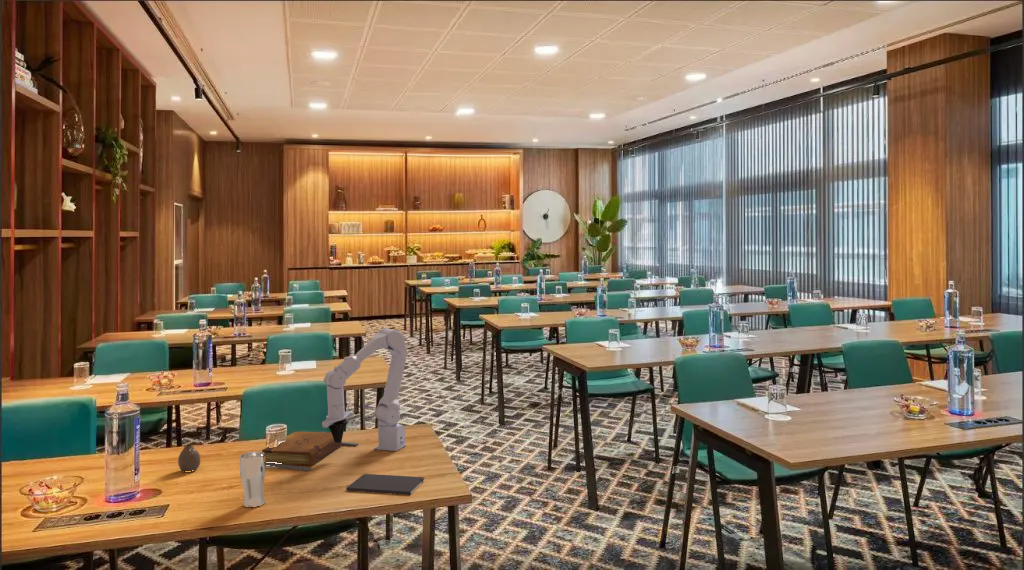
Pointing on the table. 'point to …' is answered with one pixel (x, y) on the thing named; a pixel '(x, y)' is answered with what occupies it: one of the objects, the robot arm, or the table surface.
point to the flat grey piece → (301, 466)
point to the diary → (302, 449)
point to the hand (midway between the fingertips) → (338, 442)
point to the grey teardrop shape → (189, 459)
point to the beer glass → (252, 477)
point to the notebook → (386, 484)
